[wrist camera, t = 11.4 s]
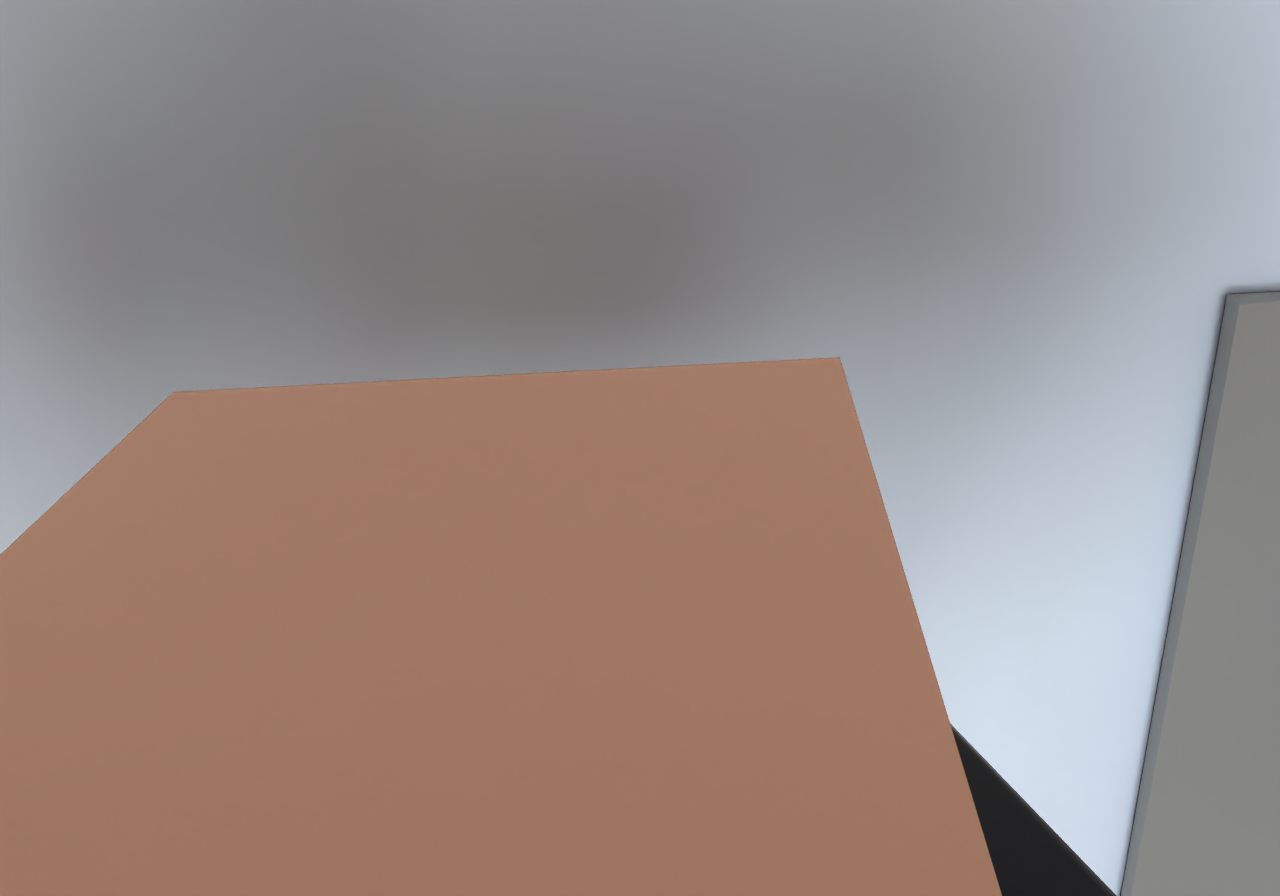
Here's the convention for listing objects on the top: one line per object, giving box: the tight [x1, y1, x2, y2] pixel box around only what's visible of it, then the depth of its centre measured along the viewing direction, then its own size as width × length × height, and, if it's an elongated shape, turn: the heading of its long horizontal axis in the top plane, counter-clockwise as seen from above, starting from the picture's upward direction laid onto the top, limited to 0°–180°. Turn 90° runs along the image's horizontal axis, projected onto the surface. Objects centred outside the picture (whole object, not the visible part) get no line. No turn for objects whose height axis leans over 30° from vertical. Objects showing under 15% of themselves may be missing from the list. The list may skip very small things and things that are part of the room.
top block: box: [0, 357, 1002, 896], centre depth 7 cm, size 5×5×5 cm
